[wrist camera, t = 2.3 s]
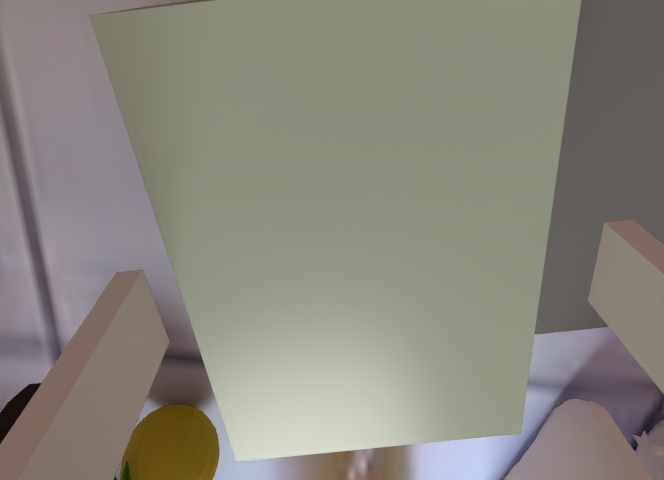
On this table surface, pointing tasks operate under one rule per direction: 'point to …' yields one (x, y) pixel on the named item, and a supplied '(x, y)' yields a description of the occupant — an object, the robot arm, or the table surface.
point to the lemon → (172, 446)
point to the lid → (352, 204)
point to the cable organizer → (589, 448)
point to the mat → (605, 152)
